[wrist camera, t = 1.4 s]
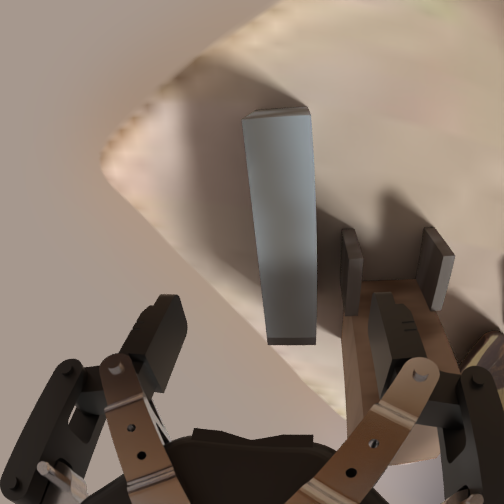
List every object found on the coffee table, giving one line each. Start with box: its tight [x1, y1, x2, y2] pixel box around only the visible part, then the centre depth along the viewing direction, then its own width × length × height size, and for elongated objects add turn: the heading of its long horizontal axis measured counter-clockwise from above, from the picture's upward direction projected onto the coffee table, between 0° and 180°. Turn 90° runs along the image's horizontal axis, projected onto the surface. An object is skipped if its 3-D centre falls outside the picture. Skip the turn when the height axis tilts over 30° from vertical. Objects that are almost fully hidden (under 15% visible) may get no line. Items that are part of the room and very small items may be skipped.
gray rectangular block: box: [242, 107, 317, 345], centre depth 22 cm, size 4×16×6 cm, turn 6°
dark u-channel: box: [340, 228, 461, 466], centre depth 21 cm, size 8×12×14 cm, turn 6°
